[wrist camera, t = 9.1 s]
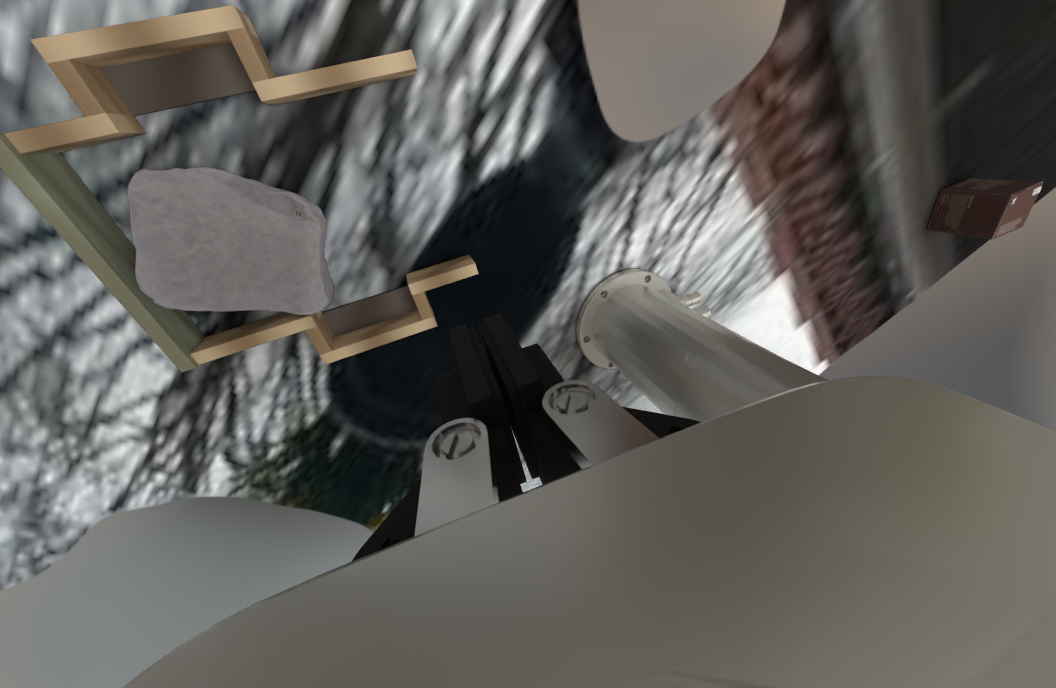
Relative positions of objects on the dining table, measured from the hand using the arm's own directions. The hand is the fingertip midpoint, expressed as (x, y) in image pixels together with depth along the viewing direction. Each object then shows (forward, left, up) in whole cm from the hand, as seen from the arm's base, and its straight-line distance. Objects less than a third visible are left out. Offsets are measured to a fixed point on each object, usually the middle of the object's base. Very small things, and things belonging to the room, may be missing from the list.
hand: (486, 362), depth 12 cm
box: (-73, +18, -25) cm, 79 cm away
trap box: (+9, -3, -25) cm, 26 cm away
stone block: (+13, -2, -25) cm, 28 cm away
